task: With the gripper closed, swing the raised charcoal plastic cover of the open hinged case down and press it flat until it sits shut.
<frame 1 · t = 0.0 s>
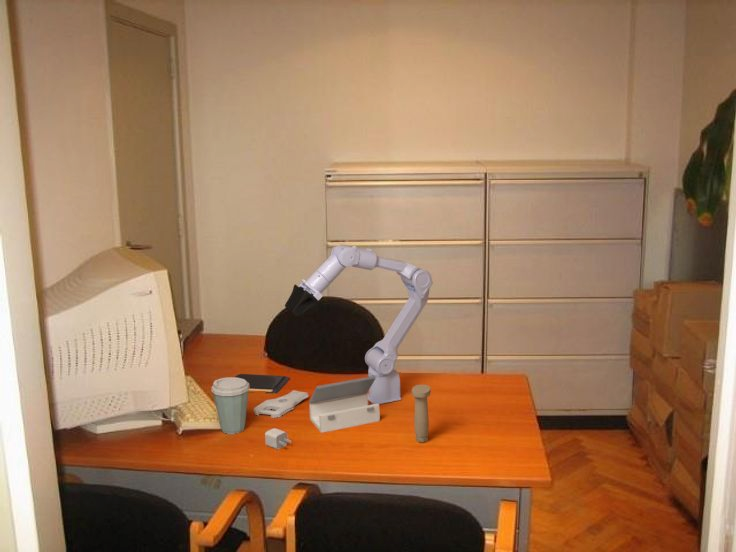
hand: (290, 311, 207), 32 cm above the table, tool tilted 50°, fingers open, 7 cm apart
disposable coffee cup: (234, 430, 205), on the table
usb wall charger: (279, 447, 194), on the table
cover: (342, 390, 209), point 9 cm above the table, hinge at 45.0°
open hinged case: (344, 420, 210), on the table
handle: (421, 441, 195), on the table
black notebook: (256, 386, 241), on the table
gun: (281, 408, 221), on the table
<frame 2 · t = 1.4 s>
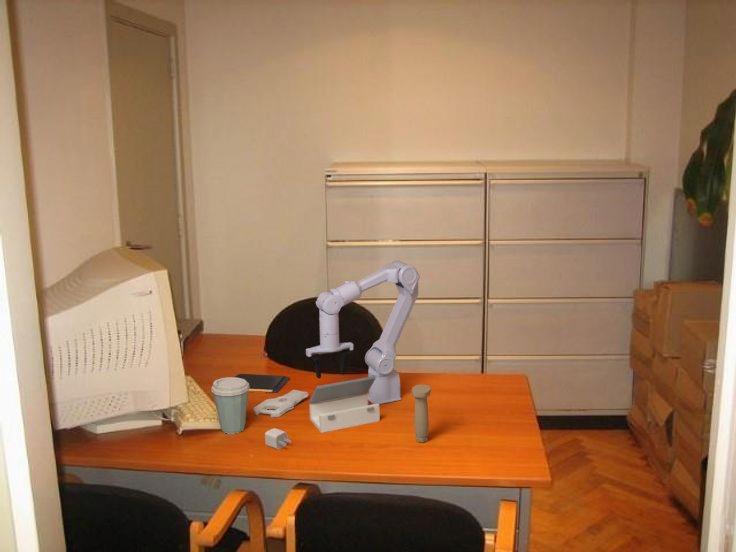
hand: (330, 375, 216), 11 cm above the table, tool pointing down, fingers open, 7 cm apart
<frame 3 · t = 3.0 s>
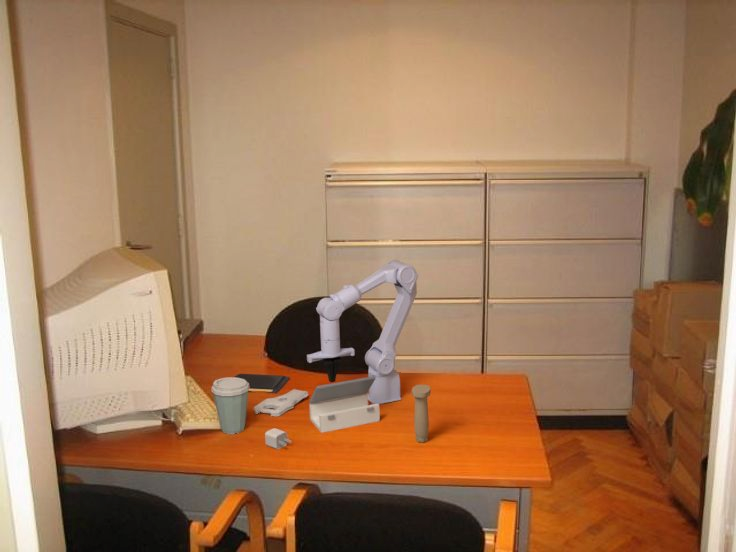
hand: (332, 381, 217), 9 cm above the table, tool pointing down, fingers closed
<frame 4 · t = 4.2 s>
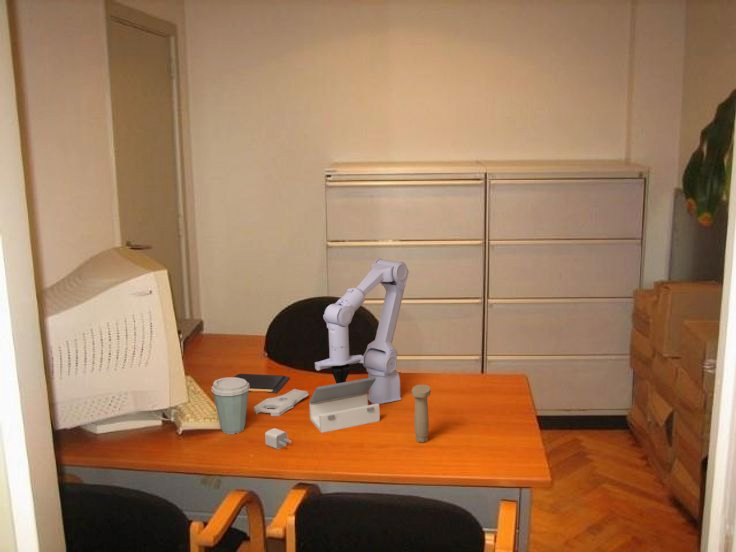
hand: (340, 389, 210), 9 cm above the table, tool pointing down, fingers closed, pressing on cover
cover: (342, 390, 209), point 9 cm above the table, hinge at 43.3°, touching gripper
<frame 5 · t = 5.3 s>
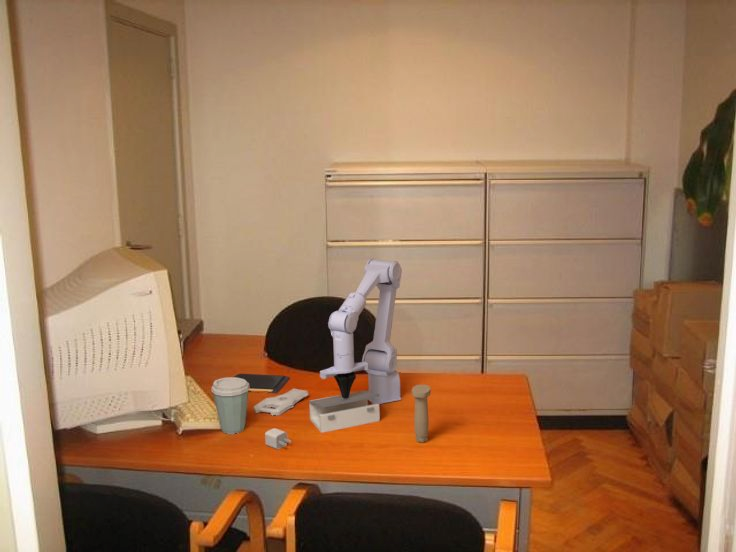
hand: (345, 397, 207), 8 cm above the table, tool pointing down, fingers closed, pressing on cover
cover: (344, 398, 208), point 7 cm above the table, hinge at 13.6°, touching gripper
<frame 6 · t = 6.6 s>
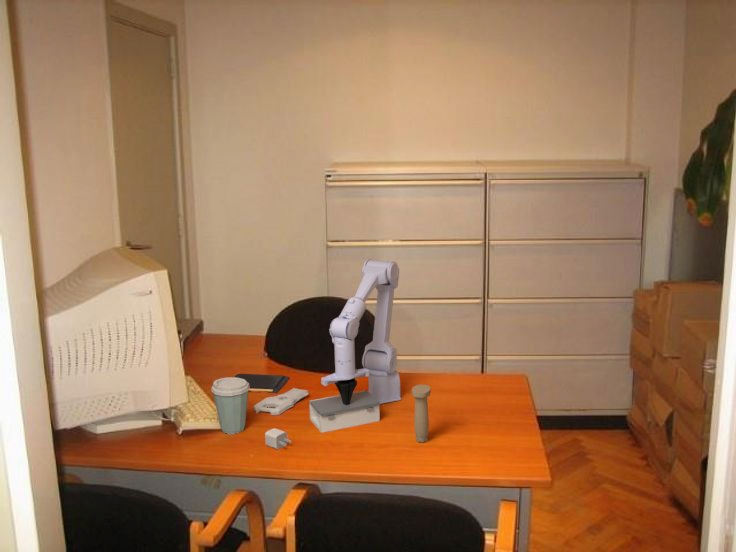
hand: (346, 404, 206), 6 cm above the table, tool pointing down, fingers closed, pressing on cover
cover: (344, 402, 208), point 6 cm above the table, hinge at -0.6°, touching gripper
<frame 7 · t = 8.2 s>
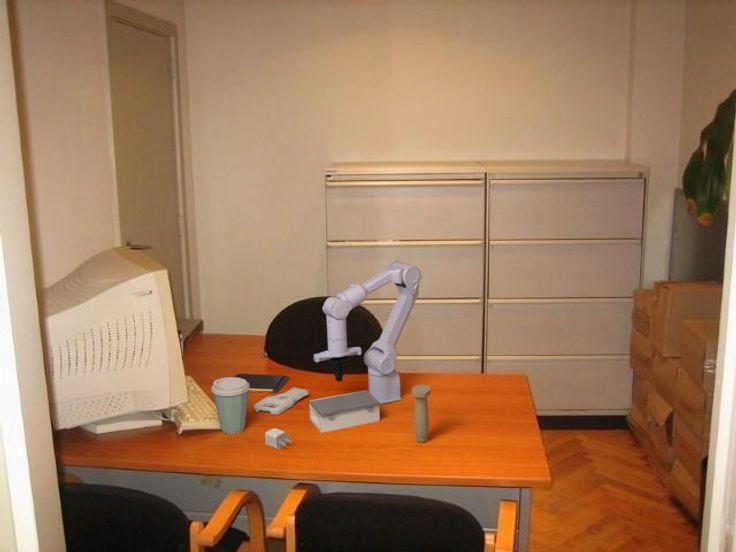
hand: (338, 380, 216), 9 cm above the table, tool pointing down, fingers closed
cover: (344, 402, 208), point 6 cm above the table, hinge at -0.6°
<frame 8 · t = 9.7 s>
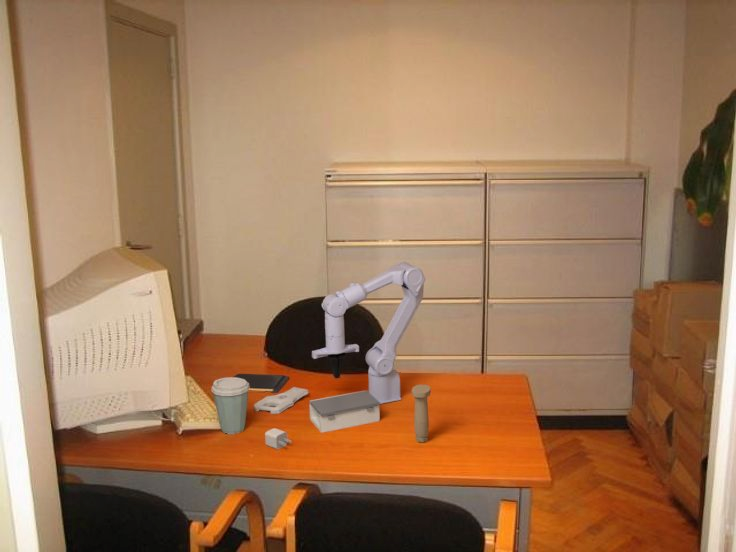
hand: (336, 377, 218), 9 cm above the table, tool pointing down, fingers closed
at the end: cover at -1° (first picture: +45°) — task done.
